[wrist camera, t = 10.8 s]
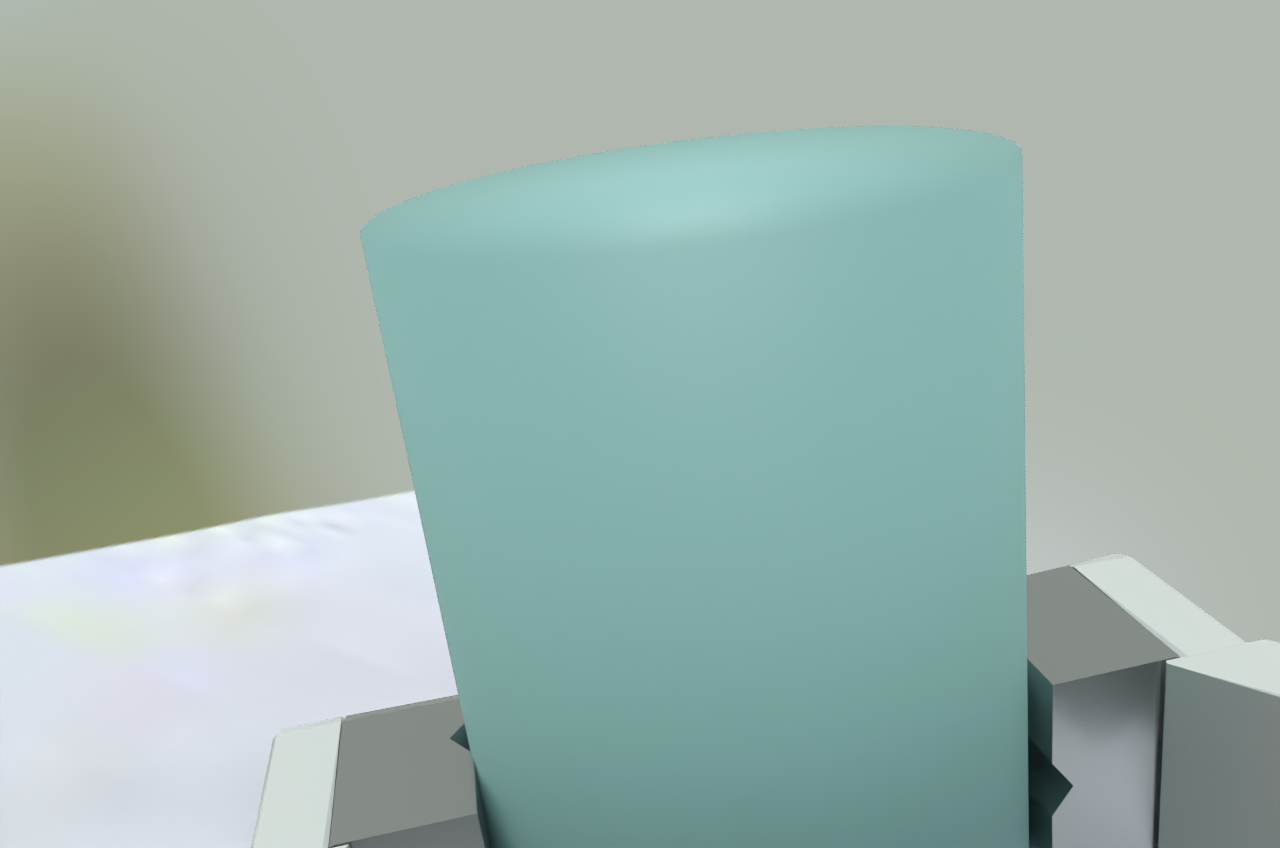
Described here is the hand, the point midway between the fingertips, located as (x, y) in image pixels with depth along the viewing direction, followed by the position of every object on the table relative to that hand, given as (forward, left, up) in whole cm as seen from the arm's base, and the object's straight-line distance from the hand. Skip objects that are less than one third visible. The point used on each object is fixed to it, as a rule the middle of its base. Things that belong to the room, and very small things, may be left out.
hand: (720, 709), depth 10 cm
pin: (0, -1, -6) cm, 6 cm away
